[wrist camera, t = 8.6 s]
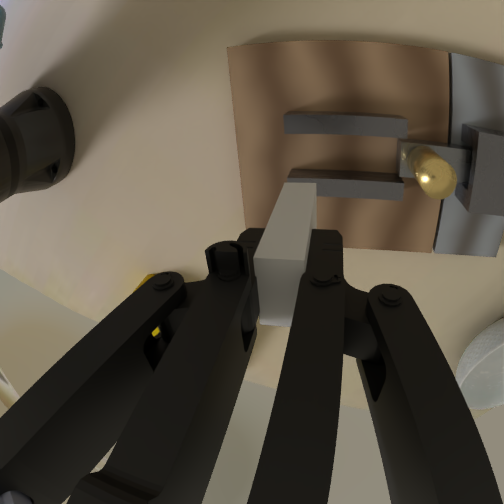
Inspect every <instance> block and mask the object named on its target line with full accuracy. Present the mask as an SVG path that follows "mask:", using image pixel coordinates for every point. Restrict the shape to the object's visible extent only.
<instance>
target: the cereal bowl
mask: <svg viewBox="0 0 504 504" xmlns="http://www.w3.org/2000/svg"><path fill="white" fill-rule="evenodd" d="M456 381H457V383H458V385H459V387H460V390H461V392H462V394H463V396H464V398H465V401H466V403H467V405H468V407H469V408H471V409H488V408H493V407H497V406H500V405H503V404H504V318H502V319H500V320H498V321H496V322H494V323H493V324H491V325H490V326H488V327H487V328H486V329H484V330H483V331H482V332H481V333H480V334H479V335H478V336H476V338H474V340H473V341H472V342H471V343H470V344H469V346H468V347H467V348H466V350H465V351H464V353H463V355H462V357H461V359H460V362H459V363H458V367H457V371H456Z"/></svg>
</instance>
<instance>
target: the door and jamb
mask: <svg viewBox="0 0 504 504" xmlns="http://www.w3.org/2000/svg"><path fill="white" fill-rule="evenodd" d="M227 53H228V62H229V72H230V82H231V91H232V101H233V111H234V120H235V130H236V140H237V149H238V159H239V168H240V177H241V187H242V196H243V206H244V215H245V224H246V229H248V228H266V226H267V224H268V221H269V219H270V217H271V214H272V212H273V209H274V207H275V205H276V202H277V200H278V197H279V195H280V193H281V190H282V188H283V185H284V183H287V177H288V175H289V173H290V171H291V169H328V170H352V171H370V172H385V173H397V172H396V153H397V138H390V137H377V136H360V135H336V134H284V120H283V115H284V114H285V113H287V112H288V111H336V112H361V113H378V114H391V115H401V116H403V117H405V118H406V119H408V135H407V139H417V140H426V141H434V142H442V143H450V144H456V145H463V146H469V145H468V144H466V143H464V142H463V141H461V131H462V124H468V125H473V126H479V127H484V128H489V129H493V130H498V131H503V132H504V65H500V64H497V63H493V62H490V61H486V60H482V59H478V58H474V57H470V56H466V55H461V54H456V53H448V52H446V51H441V50H435V49H429V48H423V47H416V46H408V45H400V44H391V43H379V42H365V41H340V40H311V41H286V42H271V43H260V44H250V45H241V46H233V47H227ZM469 147H471V146H469ZM401 178H402V180H403V182H404V193H403V201H394V200H379V199H362V198H343V197H321V196H316V198H317V226H316V229H329V230H338V231H339V233H340V234H341V235H342V236H343V248H359V249H376V250H393V251H409V252H425V253H431V252H432V248H433V250H434V253H441V254H456V255H471V256H486V257H496V255H497V252H498V249H499V245H500V242H501V238H502V234H503V230H504V216H496V215H488V214H479V213H470V212H468V211H467V210H466V209H465V208H464V206H463V205H462V204H461V203H460V201H459V200H458V199H457V198H456V196H455V190H454V191H453V193H452V194H451V195H450V196H448V197H447V198H444V199H433V198H431V197H429V196H428V195H427V194H426V193H425V192H424V190H423V189H422V187H421V186H420V184H419V183H418V181H417V180H416V178H409V177H401ZM455 188H456V187H455Z"/></svg>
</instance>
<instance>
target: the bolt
mask: <svg viewBox="0 0 504 504" xmlns="http://www.w3.org/2000/svg"><path fill="white" fill-rule="evenodd" d="M472 152H473V148H472V147H469V146H463V145H456V144H450V143H442V142H434V141H426V140H417V139H402V138H397V153H396V172H397V173H398V175H399V177H409V178H416V180H417V181H418V183H419V184H420V186H421V187H422V189H423V190H424V192H425V193H426V194H427V195H428V196H429V197H431V198H433V199H444V198H447V197H448V196H450V195H451V194H452V193H453V191H454V190H455V187H456V184H457V182H458V183H466V184H469V177H470V170H471V162H472Z"/></svg>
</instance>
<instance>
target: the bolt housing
mask: <svg viewBox="0 0 504 504" xmlns="http://www.w3.org/2000/svg"><path fill="white" fill-rule="evenodd" d="M283 120H284V134H336V135H360V136H377V137H390V138H402V139H407V135H408V119H406V118H405V117H403V116H401V115H391V114H378V113H361V112H336V111H288V112H287V113H285V114H284V115H283ZM461 141H463V142H464V143H466V144H468V145H469V146H471V147H472V148H473V152H472V162H471V170H470V177H469V184H466V183H458V182H457V184H456V188H455V196H456V198H457V199H458V200H459V201H460V203H461V204H462V205H463V206H464V208H465V209H466V210H467V211H468V212H470V213H479V214H488V215H496V216H504V132H503V131H498V130H493V129H489V128H484V127H479V126H473V125H468V124H462V131H461ZM287 183H316V196H321V197H343V198H362V199H379V200H394V201H403V193H404V182H403V180H402V178H401V177H399V175H398V173H385V172H370V171H352V170H328V169H291V171H290V173H289V175H288V177H287Z"/></svg>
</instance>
